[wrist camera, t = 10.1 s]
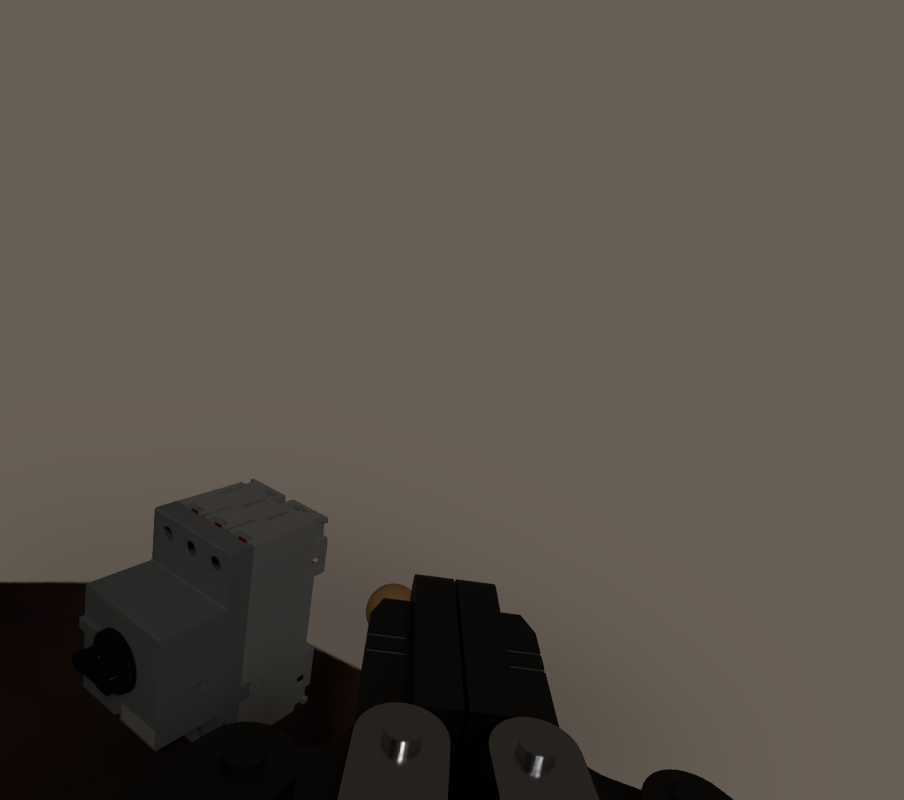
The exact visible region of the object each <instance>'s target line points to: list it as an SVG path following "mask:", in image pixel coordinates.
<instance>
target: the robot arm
mask: <svg viewBox="0 0 904 800" xmlns="http://www.w3.org/2000/svg"><path fill="white" fill-rule="evenodd" d="M97 800H733V799H732V798H731V797H729V796H728V795H727V794H725V793H724V792H723V791H721V790H720V789H719V788H717V787H716V786H715V785H713V784H712V783H710V782H708V781H707V780H705V779H703V778H701V777H699V776H697V775H694V774H691V773H688V772H685V771H680V770H661V771H657V772H655V773H653V774H651V775H650V776H649V777H648V778H646V780H645V782H644V783H643V787H642V790H639V789H637V788H634V787H631V786H629V785H626V784H623V783H621V782H618V781H615V780H612V779H610V778H608V777H605V776H603V775H601V774H599V773H597V772H595V771H593V770H592V769H590V768H589V767H587V765H586V763H585V760H584V758H583V755H582V752H581V750H580V748H579V746H578V745H577V744H576V742H575V741H574V740H573V739H572V738H571V737H570V736H569V735H568V734H567V733H566V732H564V731H563V730H562V729H560V728H559V725H558V721H557V717H556V713H555V709H554V705H553V701H552V697H551V693H550V689H549V685H548V682H547V677H546V673H544V665H543V661H542V658H541V656H540V649H539V646H538V642H537V638H536V634H535V632H534V631H533V630H532V628H531V627H530V626H529V625H528V624H527V623H526V621H525V620H524V619H523V618H522V617H521V615H517V614H509V613H501V612H500V608H499V602H498V597H497V591H496V586H495V585H494V584H488V583H480V582H473V581H465V580H456V581H455V583H454V580H453V579H448V578H441V577H433V576H425V575H417V574H415V576H414V580H413V585H412V591H411V596H410V601H405V600H398V599H390V598H383V599H382V600H381V602H380V603H379V604H378V605H377V606H376V607H375V608H374V609H373V611H372V612H371V613H370V619H369V627H368V632H367V638H366V645H365V651H364V658H363V664H362V670H361V676H360V682H359V690H358V698H357V707H356V715H355V723H354V724H353V725H352V727H351V728H350V729H349V730H348V731H347V732H346V733H345V734H343V735H342V736H340V737H339V738H337V739H335V740H333V741H331V742H328V743H325V744H322V745H318V746H313V747H307V748H301V749H296V747H295V744H294V743H293V741H292V740H291V739H290V738H289V737H288V736H287V735H286V734H285V733H284V732H282V731H281V730H279V729H278V728H275V727H273V726H271V725H268V724H264V723H259V722H236V723H231V724H227V725H224V726H221V727H218V728H216V729H214V730H212V731H210V732H209V733H207V734H205V735H204V736H202V737H200V738H199V739H197V740H195V741H194V742H192V743H190V744H189V745H187V746H185V747H184V748H182V749H180V750H179V751H177V752H175V753H174V754H172V755H170V756H169V757H167V758H165V759H164V760H162V761H160V762H159V763H157V764H155V765H153V766H152V767H150V768H148V769H147V770H145V771H143V772H142V773H140V774H138V775H137V776H135V777H133V778H132V779H130V780H128V781H127V782H125V783H123V784H122V785H120V786H118V787H117V788H115V789H113V790H112V791H110V792H108V793H107V794H105V795H103V796H102V797H100V798H98V799H97Z"/></svg>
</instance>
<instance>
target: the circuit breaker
mask: <svg viewBox="0 0 904 800" xmlns="http://www.w3.org/2000/svg"><path fill="white" fill-rule="evenodd" d="M270 495H271V496H273V497H271V496H270ZM300 511H301V512H303V513H301V512H300ZM324 523H328V518H327V517H326V516H324V515H322V514H320V513H318V512H316V511H314V510H312V509H310V508H308V507H307V506H305V505H303V504H301V503H299V502H297V501H295V500H291V501H288V502H285V495H283V494H282V493H280V492H277V491H276V490H274V489H272V488H270V487H268V486H266V485H264V484H262V483H261V482H258V481H256V480H255V479H251V483H248V484H244V483H242V482H241V483H237V484H234V485H230V486H227V487H224V488H220V489H217V490H213V491H210V492H206V493H203V494H200V495H196V496H193V497H190V498H186V499H183V500H179V501H176V502H172V503H169V504H165V505H162V506H159V507H156V508H155V516H154V535H153V554H152V559H151V560H150V561H147V562H145V563H142V564H139V565H136V566H134V567H131V568H128V569H126V570H123V571H120V572H117V573H115V574H112V575H109V576H106V577H104V578H101V579H98V580H95V581H93V582H90V583H87V584H86V592H85V593H86V594H85V615H84V616H81V617H79V628H81V629H82V630H83V631H84V632H85V634H84V641H85V642H84V649H83V650H80V651H78V652H76V653H74V654H73V655H72V662H73V665H74V667H75V669H76V670H77V671H78V672H79V673H80V674H82V675H83V674H84V681H83V686H84V687H85V688H86V689H87V690H88V691H89V692H90V693H91V694H92V695H93V696H95V697H96V698H97V699H98V700H99V701H100V702H101V703H102V704H103V705H104V706H106V707H107V708H108V709H109V710H110V711H111V712H112V713H113V714H115V715H116V714H119V715H120V720H121V721H122V722H123V723H124V724H125V725H126V726H127V727H129V728H130V729H131V730H132V731H133V732H134V733H135V734H136V735H137V736H138V737H140V738H141V739H142V740H143V741H144V742H145V743H146V744H147V745H148V746H149V747H151V748H152V749H153V750H154V751H157V750H159V749H161V748H163V747H164V746H166V745H168V744H169V743H171V742H173V741H174V740H176V739H178V738H180V737H181V736H183V735H184V736H185V737H186V738H187V739H188V740H190V741H191V742H194V741H195V740H197V739H199V738H200V737H202V736H204V735H205V734H207V733H209V732H210V731H212V730H214V729H216V728H218V727H221V726H224V725H227V724H231V723H236V722H259V723H264V724H268V725H272V724H274V723H275V722H277V721H279V720H280V719H282V718H283V717H285V716H286V715H288V714H289V713H291V712H292V711H294V705H295V704H297V703H298V702H300V703H301V704H304V703H306V702H307V700H308V697H307V696H305V695H304V692H305V686H307V685H309V684H310V676H311V668H312V660H313V652H314V648H313V647H311V646H310V645H308V644H307V643H306V637H307V630H308V621H309V614H310V606H311V597H312V589H313V581H314V576H316V575H318V574H320V573H322V572H324V565H325V558H326V550H327V537H326V536H324V535H323V530H324ZM317 557H318V562H317V563H316V562H314V561H312V559H315V558H317ZM303 674H304V675H303ZM301 675H303V680H301V681H299V682H298V683H297V678H298V677H300V676H301Z"/></svg>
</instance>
